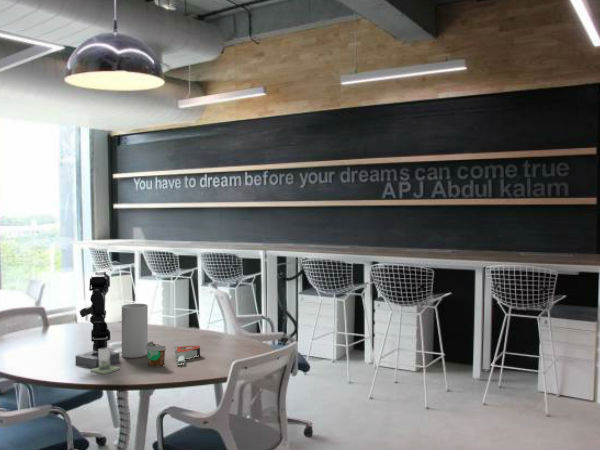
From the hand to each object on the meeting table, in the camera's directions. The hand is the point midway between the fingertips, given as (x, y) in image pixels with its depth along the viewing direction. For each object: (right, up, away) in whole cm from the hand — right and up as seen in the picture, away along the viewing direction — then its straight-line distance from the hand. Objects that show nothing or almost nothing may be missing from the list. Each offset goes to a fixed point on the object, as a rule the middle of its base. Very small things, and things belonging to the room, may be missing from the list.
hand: (98, 333), depth 274 cm
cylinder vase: (+15, -13, +9) cm, 22 cm away
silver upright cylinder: (+9, -13, -17) cm, 23 cm away
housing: (+1, -13, -5) cm, 14 cm away
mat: (+9, -14, -17) cm, 24 cm away
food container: (+29, -14, -9) cm, 33 cm away
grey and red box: (+41, -14, +2) cm, 44 cm away
